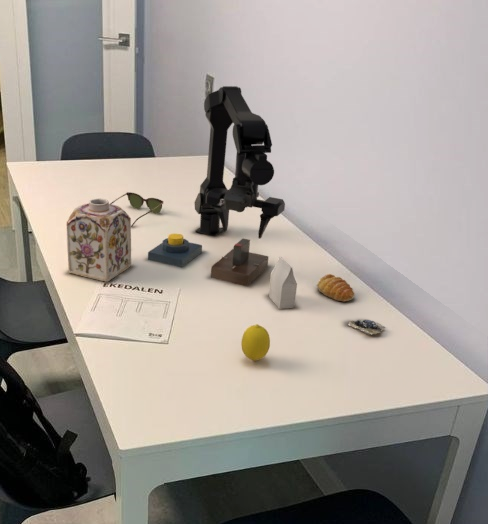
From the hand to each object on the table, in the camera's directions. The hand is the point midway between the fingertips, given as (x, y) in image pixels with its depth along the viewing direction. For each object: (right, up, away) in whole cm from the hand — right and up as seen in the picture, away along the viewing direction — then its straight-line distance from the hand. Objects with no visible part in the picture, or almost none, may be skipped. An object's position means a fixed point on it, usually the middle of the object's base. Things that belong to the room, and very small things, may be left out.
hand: (242, 234), depth 167 cm
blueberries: (+23, -20, -21) cm, 37 cm away
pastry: (+22, -15, -5) cm, 27 cm away
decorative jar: (-36, -9, +2) cm, 37 cm away
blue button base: (-17, -4, +12) cm, 21 cm away
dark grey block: (0, -6, +3) cm, 7 cm away
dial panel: (0, -9, +4) cm, 10 cm away
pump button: (-17, -1, +11) cm, 20 cm away
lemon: (0, -29, -34) cm, 45 cm away
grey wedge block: (+8, -17, -10) cm, 21 cm away
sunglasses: (-32, +10, +39) cm, 51 cm away
